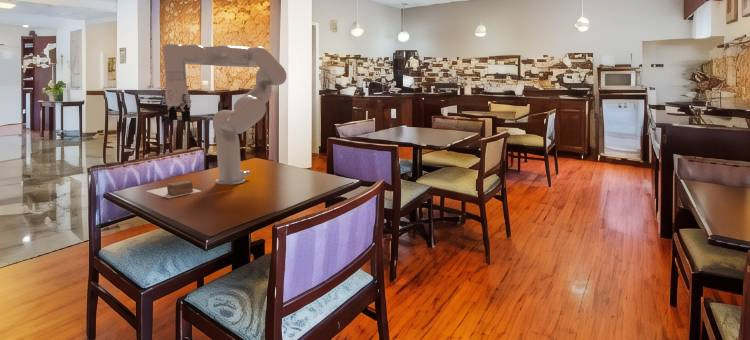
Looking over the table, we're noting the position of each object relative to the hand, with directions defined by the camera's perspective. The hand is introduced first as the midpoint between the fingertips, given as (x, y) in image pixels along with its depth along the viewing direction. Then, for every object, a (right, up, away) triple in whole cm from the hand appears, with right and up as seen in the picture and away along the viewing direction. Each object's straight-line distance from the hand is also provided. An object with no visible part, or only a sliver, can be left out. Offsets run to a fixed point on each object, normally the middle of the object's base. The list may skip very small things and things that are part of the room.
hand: (179, 120), depth 182 cm
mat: (-3, -29, +2) cm, 29 cm away
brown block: (+1, -29, -1) cm, 29 cm away
